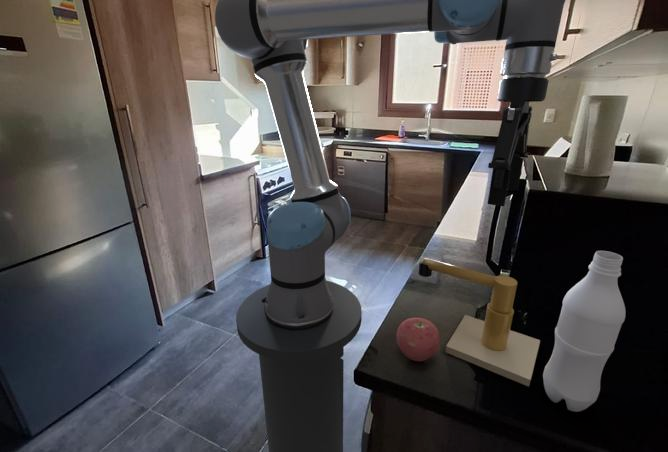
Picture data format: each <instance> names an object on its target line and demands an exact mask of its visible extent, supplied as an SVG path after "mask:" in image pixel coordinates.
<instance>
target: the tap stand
mask: <svg viewBox="0 0 668 452" xmlns="http://www.w3.org/2000/svg"><path fill="white" fill-rule="evenodd" d="M514 314H515V310H514V308H513V307H512V311H510V312H507V313H503V312H499V311H496V310H494V309H493V308H492V307H491V306H490V302H488V303H487V305H486V310H485V316H484V320H482V319H479V318H476V317H473V316H471V315H467V314H464V317H463V318H462V320H461V321H460V323H459V324H458V326H457V328H456V329H455V331H454V333H453V334H452V336H451V337H450V339H449V341H448V342H447V343H446V345H445V352H444V353H446V354H449V355H451V356H453V357H456V358H457V359H461V360H463V361H466V362H468V363H470V364H473V365H475V366H478V367H479V368H482V369H485V370H488V371H490V372H492V373H494V374H497V375H499V376H502V377H504V378H506V379H509V380H511V381H513V382H516V383H518V384H521V385H524V386H526V387H528V388H529V387H530V385H531V381H532V377H533V373H534V368H535V365H536V360H537V357H538V353H539V349H540V344H541V340H540V339H537V338H535V337H532V336H528V335H526V334H523V333H520V332H517V331H514V330H511V328H512V324H513V319H514Z"/></svg>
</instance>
